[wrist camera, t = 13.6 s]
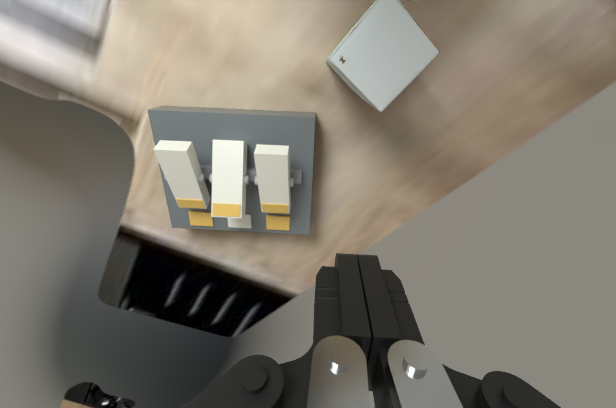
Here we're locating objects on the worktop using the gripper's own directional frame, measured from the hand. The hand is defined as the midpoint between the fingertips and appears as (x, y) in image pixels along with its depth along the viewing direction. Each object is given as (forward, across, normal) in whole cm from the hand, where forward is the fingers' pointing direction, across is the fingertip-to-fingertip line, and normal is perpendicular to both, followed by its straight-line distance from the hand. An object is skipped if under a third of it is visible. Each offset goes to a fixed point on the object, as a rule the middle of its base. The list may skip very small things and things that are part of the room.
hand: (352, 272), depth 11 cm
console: (+33, +13, +8) cm, 36 cm away
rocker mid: (+26, +13, +7) cm, 30 cm away
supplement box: (+33, -4, -8) cm, 34 cm away
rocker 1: (+26, +19, +7) cm, 33 cm away
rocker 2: (+26, +7, +7) cm, 28 cm away
